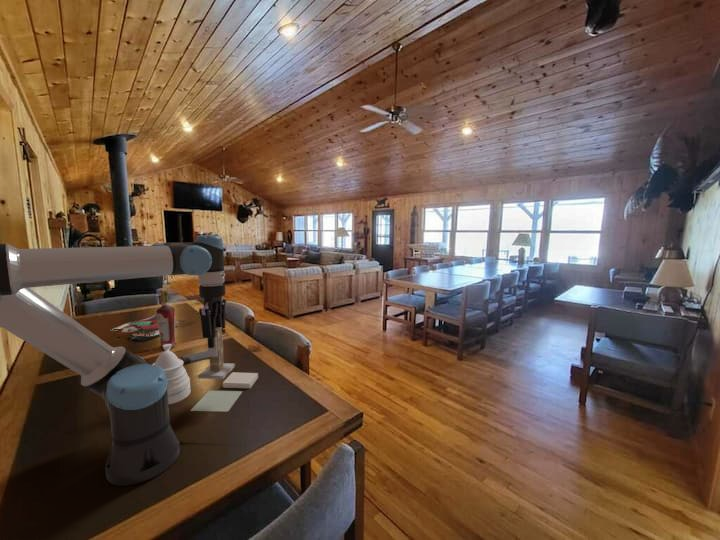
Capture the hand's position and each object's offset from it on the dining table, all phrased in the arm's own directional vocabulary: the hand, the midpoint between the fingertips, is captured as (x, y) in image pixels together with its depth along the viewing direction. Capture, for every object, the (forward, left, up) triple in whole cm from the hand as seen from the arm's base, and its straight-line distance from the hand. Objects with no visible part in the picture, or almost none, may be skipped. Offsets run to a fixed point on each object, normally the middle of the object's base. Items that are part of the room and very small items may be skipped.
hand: (215, 353), depth 101 cm
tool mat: (0, 0, -17) cm, 17 cm away
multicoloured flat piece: (+72, +72, -18) cm, 104 cm away
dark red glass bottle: (+44, +45, -17) cm, 66 cm away
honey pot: (+2, +18, -17) cm, 25 cm away
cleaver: (+32, +28, -18) cm, 46 cm away
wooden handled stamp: (0, 0, -6) cm, 6 cm away
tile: (+16, -3, -16) cm, 23 cm away
